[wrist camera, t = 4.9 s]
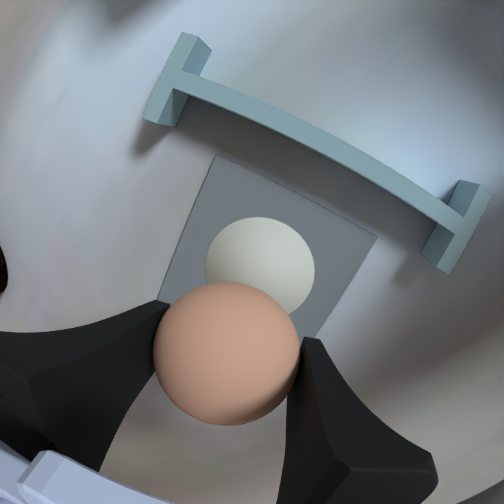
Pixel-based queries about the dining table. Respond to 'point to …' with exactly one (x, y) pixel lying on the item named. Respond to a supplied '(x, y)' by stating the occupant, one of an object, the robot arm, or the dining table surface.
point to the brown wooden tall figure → (3, 272)
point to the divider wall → (317, 148)
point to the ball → (226, 353)
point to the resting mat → (267, 245)
